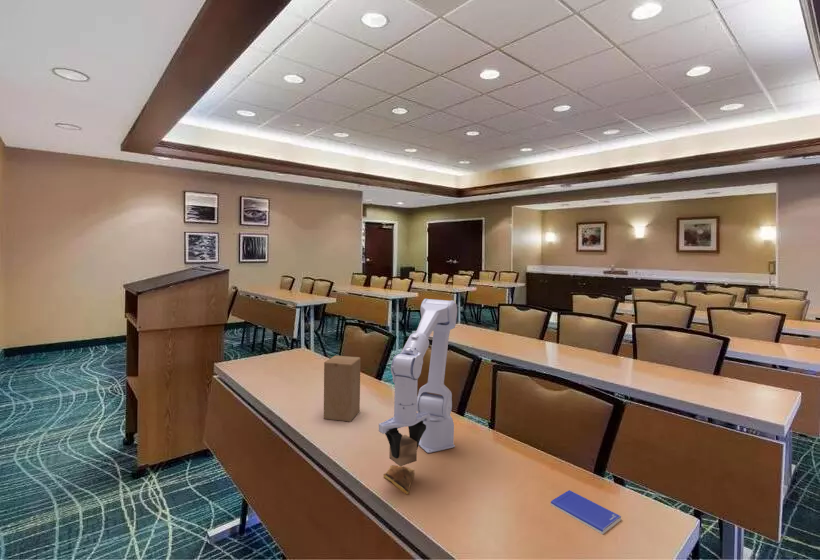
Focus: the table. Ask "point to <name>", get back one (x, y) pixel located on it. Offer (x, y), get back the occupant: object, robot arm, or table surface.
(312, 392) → the table surface
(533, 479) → the table surface
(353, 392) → the wooden block
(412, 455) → the walnut cube
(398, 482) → the shard
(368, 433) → the table surface
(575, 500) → the hard drive
